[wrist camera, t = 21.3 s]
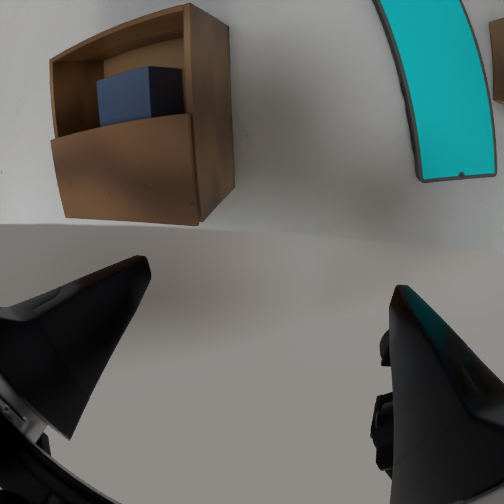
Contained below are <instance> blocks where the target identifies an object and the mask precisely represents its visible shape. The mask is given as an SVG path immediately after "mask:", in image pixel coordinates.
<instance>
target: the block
mask: <svg viewBox="0 0 504 504" xmlns="http://www.w3.org/2000/svg"><path fill="white" fill-rule="evenodd" d="M97 95H98V107H99V118H100V127H103V126H107V125H112V124H117V123H122V122H128V121H134V120H140V119H146V118H153V117H160V116H167V115H176V114H184V107H183V89H182V69H177V68H168V67H157V66H146V67H142V68H138V69H134V70H131V71H127V72H124V73H120V74H117V75H114V76H111V77H108V78H105V79H102V80H99V81H97Z"/></svg>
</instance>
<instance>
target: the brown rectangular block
mask: <svg viewBox="0 0 504 504" xmlns="http://www.w3.org/2000/svg"><path fill="white" fill-rule="evenodd" d="M489 27H490V35H491V43H492V55H493V76H494V95H493V100H495V101H497V102H499V103H502V104H504V18H501V19H498V20H495V21H492V22H489Z"/></svg>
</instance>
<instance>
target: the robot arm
mask: <svg viewBox="0 0 504 504" xmlns="http://www.w3.org/2000/svg"><path fill="white" fill-rule="evenodd" d="M150 280H151V271H150V267H149V263H148V260H147V258H146V257H145V256H140V255H136V256H133V257H131V258H128V259H125V260H123V261H120V262H118V263H116V264H113V265H111V266H108V267H106V268H103V269H101V270H98V271H96V272H93V273H91V274H89V275H86V276H84V277H82V278H79V279H77V280H74V281H72V282H70V283H67V284H65V285H63V286H60V287H58V288H56V289H53V290H51V291H49V292H47V293H44V294H41V295H39V296H36V297H34V298H31V299H29V300H26V301H24V302H21V303H18V304H16V305H13V306H10V307H0V487H1V488H2V489H3V490H0V504H121V503H119V502H117V501H115V500H114V499H112V498H110V497H108V496H107V495H105V494H103V493H102V492H100V491H98V490H97V489H95V488H93V487H92V486H91V485H89V484H87V483H86V482H84V481H83V480H81V479H80V478H79V477H77V476H76V475H74V474H73V473H72V472H70V471H69V470H67V469H66V468H65V467H63V466H62V465H61V464H60V463H58V462H57V461H56V460H54V459H53V458H52V457H51V452H50V446H49V440H48V436H47V435H46V434H45V433H44V432H43V431H44V430H45V428H46V427H47V425H49V426H50V427H51V428H52V429H54V430H55V431H56V432H58V433H59V434H60V435H62V436H63V437H64V438H66V439H67V440H70V439H71V437H72V435H73V433H74V431H75V429H76V426H77V424H78V422H79V419H80V417H81V415H82V413H83V411H84V409H85V407H86V405H87V403H88V401H89V398H90V396H91V394H92V392H93V390H94V388H95V386H96V384H97V382H98V380H99V378H100V376H101V374H102V372H103V370H104V368H105V367H106V365H107V363H108V361H109V359H110V357H111V355H112V353H113V351H114V350H115V348H116V346H117V344H118V342H119V340H120V339H121V337H122V335H123V333H124V332H125V330H126V328H127V326H128V324H129V323H130V321H131V319H132V317H133V316H134V314H135V312H136V310H137V308H138V306H139V304H140V302H141V300H142V297H143V295H144V293H145V291H146V289H147V287H148V284H149V283H150ZM467 347H468V346H467V344H466V343H465V342H464V341H463V340H462V339H461V338H460V337H459V336H458V335H457V334H456V333H455V332H454V331H453V329H451V327H450V326H449V325H447V323H446V322H445V321H444V320H443V319H442V318H441V317H440V316H439V315H438V314H437V313H436V312H435V311H434V310H433V309H432V308H431V307H430V306H429V305H428V304H427V303H426V302H425V301H424V300H423V299H422V298H421V297H420V296H419V295H418V294H416V292H414V291H413V290H412V289H411V288H410V287H409V286H407V285H397V286H396V287H395V290H394V293H393V296H392V299H391V302H390V306H389V346H388V348H387V350H386V352H385V354H384V356H383V358H382V360H381V366H386V367H391V371H392V386H393V392H390V393H388V394H385V395H379V396H377V399H376V403H375V409H374V415H373V420H372V425H371V433H370V436H371V438H372V439H373V442H374V445H375V447H376V449H377V451H376V463H377V465H378V467H379V469H380V470H381V471H385V472H386V473H387V474H388V476H389V477H390V478H391V480H392V487H391V497H390V504H504V383H503V382H502V381H501V380H500V379H499V378H498V377H497V376H496V375H495V374H494V373H493V372H492V371H491V370H490V369H489V368H488V367H487V366H486V365H485V364H484V363H483V362H482V361H481V360H480V359H479V358H478V357H477V355H476V354H475V353H474V352H473V351H472V350H471V349H470V348H469V347H468V348H467Z"/></svg>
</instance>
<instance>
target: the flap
mask: <svg viewBox="0 0 504 504" xmlns="http://www.w3.org/2000/svg"><path fill="white" fill-rule="evenodd" d="M51 148H52V155H53V161H54V167H55V172H56V178H57V183H58V187H59V192H60V197H61V201H62V205H63V209H64V213H65V217H66V218H79V219H97V220H114V221H130V222H146V223H160V224H174V225H187V226H198V225H199V219H198V209H197V199H196V188H195V176H194V163H193V150H192V135H191V117H190V113H185V114H176V115H167V116H160V117H153V118H146V119H140V120H134V121H128V122H122V123H117V124H112V125H107V126H103V127H98V128H94V129H90V130H86V131H82V132H78V133H74V134H70V135H66V136H63V137H59V138H56V139H53V140H51Z"/></svg>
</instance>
